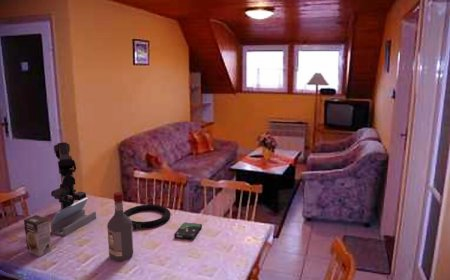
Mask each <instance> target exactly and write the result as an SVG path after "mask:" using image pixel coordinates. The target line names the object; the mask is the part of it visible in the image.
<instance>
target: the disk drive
mask: <svg viewBox="0 0 450 280" xmlns="http://www.w3.org/2000/svg"><path fill="white" fill-rule="evenodd" d="M202 228H203V224H202V223H196V222H195V223H194V222H186V221H185V222H183V223H182V224H181V225H180V227H179V228H178V229H177V230H176V231H175V233H173V235H174V236H173V237H174V239H179V240H185V241H186V240H187V241H194V240H195V239H196V238H197V236H198V235H199V233H200V231H201V230H202Z"/></svg>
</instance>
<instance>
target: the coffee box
mask: <svg viewBox="0 0 450 280" xmlns="http://www.w3.org/2000/svg"><path fill="white" fill-rule="evenodd" d="M23 222H24V234H25V240H26V248H27V249H26V251H27V253H30V254H33V255H35V256H37V257H43V256H44V255H45V254H48V253H50V252H52V244H51V241H52V240H51V227H50V220H49V218H47V217H44V216H40V215H37V214H35V215H33V216H30V217H27V218H25V219H23Z"/></svg>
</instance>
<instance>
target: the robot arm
mask: <svg viewBox="0 0 450 280" xmlns="http://www.w3.org/2000/svg"><path fill="white" fill-rule="evenodd" d="M70 152H71V145H70V144H69V143H68V142H64V141H63V142H58V143H57V144H55V145H53V153H54V154H55V157H56V158H57V160H58V161H57V168H58V173H59V175H60V180H61V181H60V184H59V188H56V189H53V190H52V191H51V195H50V196H51V197H54V200H58V203H60V209H59V210H58V211H60V210H62V209H64V208H66V207H68V206H70V205H72V204H74V203H75V201H76V202H79V201H81V200H83V199H85V198H87V193H86V192H84V191H78V192H77V190H76V189H75V185H76V178H75V176H74V173H76V170H77V167H76V166H77V165H76V161H75V159H73V156H72V155H70Z"/></svg>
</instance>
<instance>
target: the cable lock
mask: <svg viewBox="0 0 450 280" xmlns="http://www.w3.org/2000/svg"><path fill="white" fill-rule="evenodd" d="M144 211H145V212H146V211H148V212H149V211H154V212H159V213H162V214H163V216H161V217H160V218H157V219H154V220H148V221H138V220H137V221H135V220H132V219H131V221H132V232H133V231H135V230H142V229H151V228H155V227H159V226H161V225H163V224H165V223H166V222H168V221H169V220H170V219H171V211H170V210H169V209H168V208H167V207H165V206H164V205H163V206H162V205H159V204H142V205H135V206H134V207H133V206H132V207H131V208H128V209H126V210H125V211H124V214H125V215H126V216H127V217H128V218H129V216H131V215H133V214H135V213H140V212H144Z"/></svg>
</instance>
